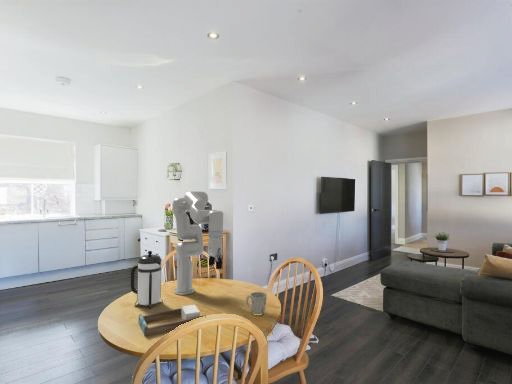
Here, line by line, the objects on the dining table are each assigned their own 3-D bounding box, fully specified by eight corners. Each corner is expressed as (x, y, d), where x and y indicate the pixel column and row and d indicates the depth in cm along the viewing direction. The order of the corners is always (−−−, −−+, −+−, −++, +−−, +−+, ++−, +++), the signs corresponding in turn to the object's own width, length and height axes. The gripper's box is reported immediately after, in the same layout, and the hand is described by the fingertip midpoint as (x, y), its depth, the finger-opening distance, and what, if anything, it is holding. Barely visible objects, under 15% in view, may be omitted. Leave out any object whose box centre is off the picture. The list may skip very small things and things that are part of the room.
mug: (261, 318, 144) (261, 298, 145) (240, 312, 151) (241, 293, 151) (269, 312, 152) (269, 294, 152) (249, 307, 158) (249, 289, 158)
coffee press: (161, 297, 171) (163, 247, 171) (163, 307, 156) (164, 252, 156) (130, 301, 165) (131, 248, 165) (128, 311, 150) (130, 254, 150)
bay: (138, 322, 137) (138, 314, 137) (194, 311, 152) (194, 303, 152) (144, 336, 124) (144, 327, 124) (205, 322, 139) (205, 313, 139)
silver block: (181, 316, 146) (181, 306, 146) (194, 314, 149) (194, 304, 149) (185, 324, 137) (185, 314, 137) (199, 321, 140) (199, 311, 140)
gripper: (203, 232, 156) (202, 264, 156) (215, 236, 142) (214, 271, 141) (216, 232, 160) (215, 262, 160) (229, 235, 145) (228, 269, 145)
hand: (215, 266), depth 151 cm, fingers open, 9 cm apart
